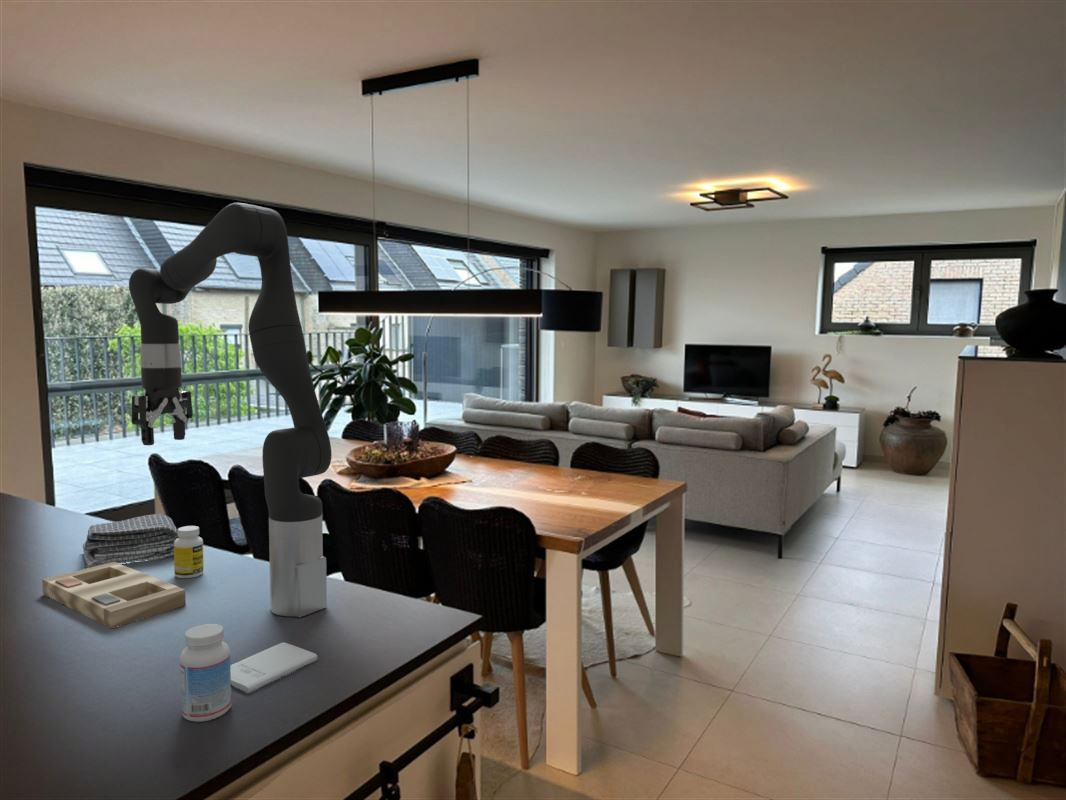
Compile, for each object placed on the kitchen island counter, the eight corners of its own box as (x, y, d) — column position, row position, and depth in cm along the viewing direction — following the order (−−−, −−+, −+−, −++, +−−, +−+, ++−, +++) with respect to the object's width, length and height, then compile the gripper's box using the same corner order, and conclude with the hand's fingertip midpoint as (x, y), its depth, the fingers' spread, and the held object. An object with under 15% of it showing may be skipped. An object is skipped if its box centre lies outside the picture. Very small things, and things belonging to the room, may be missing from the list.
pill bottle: (241, 704, 98) (239, 625, 97) (207, 727, 92) (205, 643, 91) (206, 696, 100) (203, 618, 99) (170, 718, 94) (168, 635, 93)
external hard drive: (317, 664, 111) (248, 697, 101) (282, 650, 116) (212, 681, 105) (317, 654, 111) (248, 686, 101) (282, 641, 116) (212, 671, 105)
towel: (181, 558, 159) (180, 523, 159) (83, 571, 150) (82, 535, 149) (173, 540, 172) (172, 508, 171) (82, 552, 162) (81, 518, 162)
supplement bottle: (196, 579, 146) (194, 532, 145) (169, 578, 146) (167, 531, 145) (208, 570, 151) (207, 524, 150) (183, 570, 151) (181, 524, 150)
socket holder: (185, 605, 132) (185, 587, 132) (111, 628, 121) (111, 610, 121) (114, 576, 147) (114, 560, 146) (43, 594, 136) (42, 577, 136)
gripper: (149, 367, 143) (152, 448, 144) (200, 364, 156) (203, 438, 158) (118, 366, 145) (122, 446, 146) (172, 364, 158) (174, 437, 160)
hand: (164, 442), depth 152 cm, fingers open, 8 cm apart
